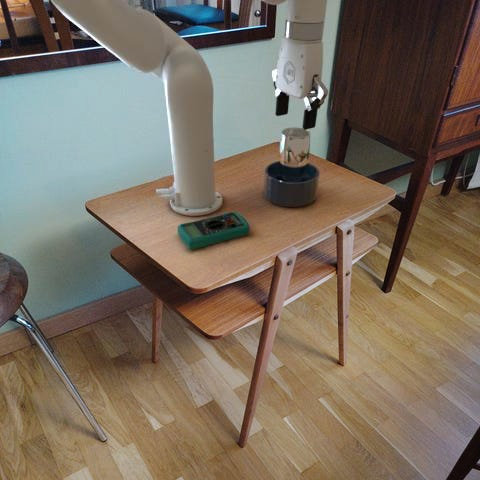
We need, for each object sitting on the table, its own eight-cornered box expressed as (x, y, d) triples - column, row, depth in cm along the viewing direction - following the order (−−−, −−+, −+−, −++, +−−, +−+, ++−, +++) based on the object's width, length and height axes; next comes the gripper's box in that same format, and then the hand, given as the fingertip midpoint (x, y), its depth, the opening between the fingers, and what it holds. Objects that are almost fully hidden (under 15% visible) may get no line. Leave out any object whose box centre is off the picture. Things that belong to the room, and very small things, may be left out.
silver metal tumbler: (291, 184, 115) (296, 124, 105) (310, 194, 111) (317, 133, 101) (270, 192, 112) (274, 131, 102) (289, 203, 108) (295, 140, 98)
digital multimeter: (252, 235, 98) (252, 223, 96) (189, 252, 93) (188, 240, 91) (237, 220, 103) (237, 208, 101) (176, 235, 98) (175, 223, 96)
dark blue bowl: (271, 211, 106) (272, 185, 102) (258, 186, 116) (259, 162, 111) (323, 206, 108) (326, 180, 104) (307, 182, 117) (309, 158, 113)
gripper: (263, 25, 92) (258, 112, 103) (318, 41, 81) (306, 137, 93) (291, 22, 95) (284, 107, 106) (348, 38, 84) (333, 130, 96)
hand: (294, 121), depth 99 cm, fingers open, 9 cm apart
